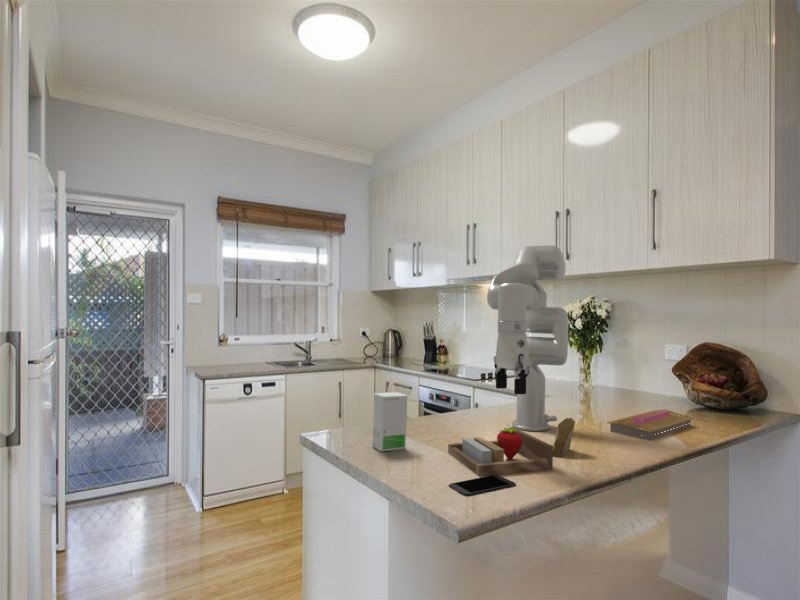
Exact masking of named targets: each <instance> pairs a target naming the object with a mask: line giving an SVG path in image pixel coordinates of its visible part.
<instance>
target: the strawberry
mask: <svg viewBox="0 0 800 600" xmlns="http://www.w3.org/2000/svg"><path fill="white" fill-rule="evenodd" d="M506 424H507V426H508V427H503V429H501V430H500V431H499V432H498V434H497V436H496V440H497V441H498V445H499V447H500V448H502V449H504V457H506V459H507V460H508V461H512V460H513V458H514V457H515V456H516V455H517V454H519V453H518V452H519V450H520V449H521V446H522V443H523V441H522V437H521V436H520V435H519V434H517V433H515V432H517V431H518V430H519V429H518V430H513V429H509V428H510V426H509V424H508V423H507V422H506ZM514 429H515V427H514Z"/></svg>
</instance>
